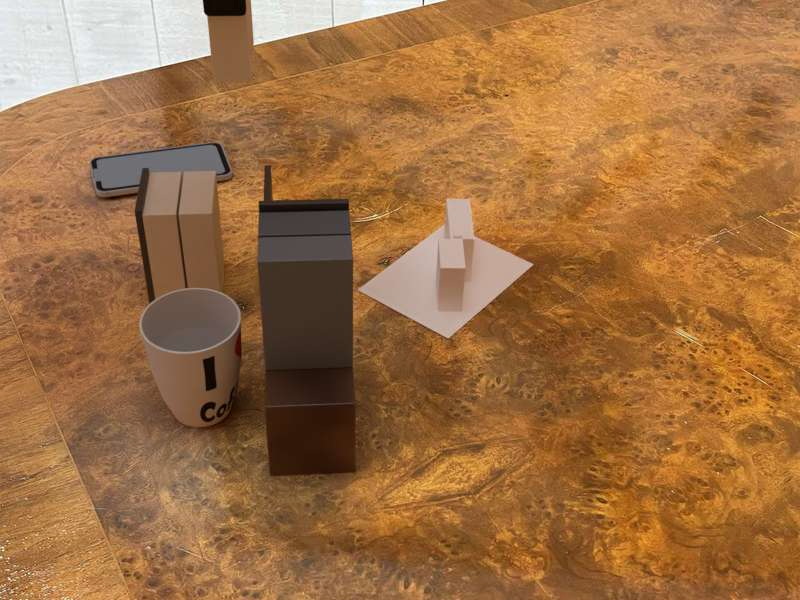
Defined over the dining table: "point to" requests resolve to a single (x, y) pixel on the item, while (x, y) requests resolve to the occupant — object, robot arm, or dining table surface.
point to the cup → (194, 352)
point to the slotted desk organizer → (182, 230)
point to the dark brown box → (310, 420)
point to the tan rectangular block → (231, 46)
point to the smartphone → (156, 166)
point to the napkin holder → (447, 275)
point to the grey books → (306, 283)
